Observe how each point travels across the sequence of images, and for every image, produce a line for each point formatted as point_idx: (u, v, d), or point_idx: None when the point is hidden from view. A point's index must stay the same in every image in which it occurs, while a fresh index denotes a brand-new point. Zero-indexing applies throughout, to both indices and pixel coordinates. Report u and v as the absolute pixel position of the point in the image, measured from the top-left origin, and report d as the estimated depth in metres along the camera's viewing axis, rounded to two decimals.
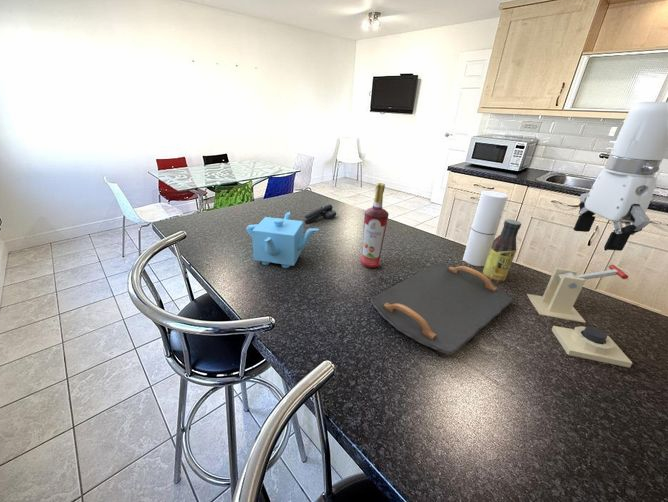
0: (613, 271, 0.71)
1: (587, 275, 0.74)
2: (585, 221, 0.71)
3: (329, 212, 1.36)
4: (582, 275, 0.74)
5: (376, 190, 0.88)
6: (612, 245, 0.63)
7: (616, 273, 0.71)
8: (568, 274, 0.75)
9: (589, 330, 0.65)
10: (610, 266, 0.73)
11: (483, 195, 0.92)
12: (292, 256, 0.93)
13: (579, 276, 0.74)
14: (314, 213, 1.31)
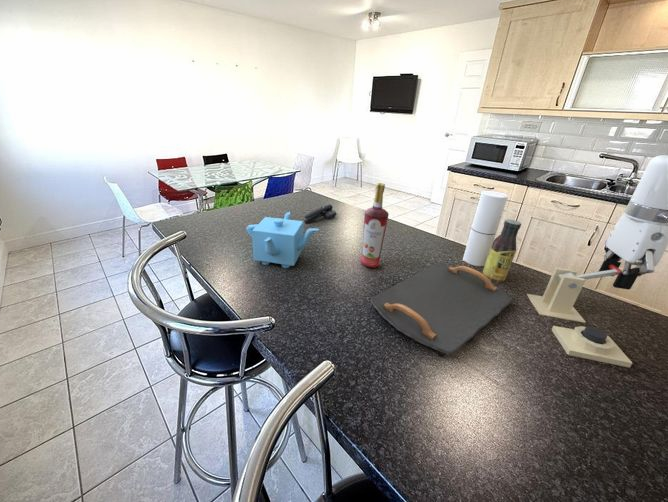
0: (613, 271, 0.71)
1: (587, 275, 0.74)
2: None
3: (329, 212, 1.36)
4: (582, 275, 0.74)
5: (376, 190, 0.88)
6: (620, 284, 0.69)
7: (616, 273, 0.71)
8: (568, 274, 0.75)
9: (589, 330, 0.65)
10: (610, 266, 0.73)
11: (483, 195, 0.92)
12: (292, 256, 0.93)
13: (579, 276, 0.74)
14: (314, 213, 1.31)
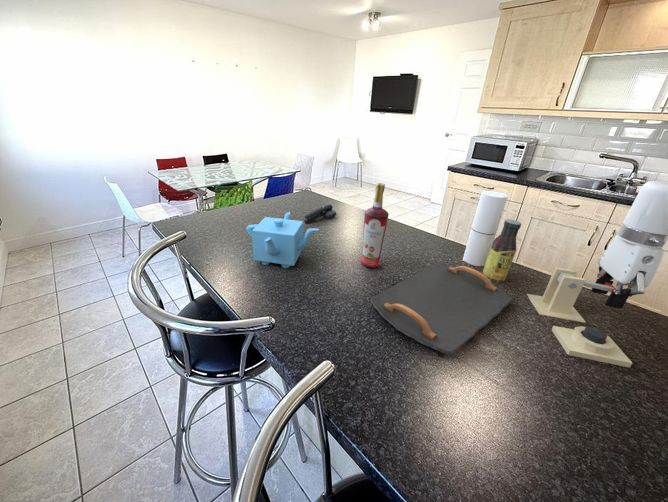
0: (610, 287, 0.73)
1: (587, 282, 0.74)
2: (603, 284, 0.76)
3: (329, 212, 1.36)
4: None
5: (376, 190, 0.88)
6: (612, 303, 0.71)
7: (612, 290, 0.73)
8: (571, 275, 0.75)
9: (589, 330, 0.65)
10: (607, 283, 0.75)
11: (483, 195, 0.92)
12: (292, 256, 0.93)
13: None
14: (314, 213, 1.31)
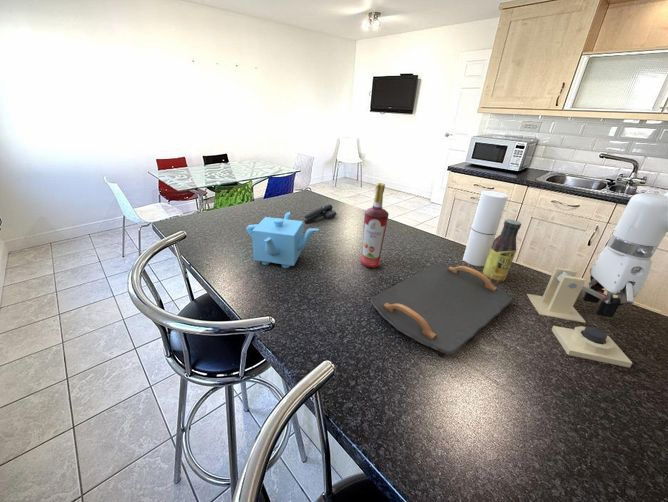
0: (603, 296, 0.74)
1: (584, 286, 0.75)
2: None
3: (329, 212, 1.36)
4: None
5: (376, 190, 0.88)
6: (603, 312, 0.73)
7: (604, 298, 0.74)
8: (572, 276, 0.75)
9: (589, 330, 0.65)
10: (599, 292, 0.76)
11: (483, 195, 0.92)
12: (292, 256, 0.93)
13: None
14: (314, 213, 1.31)
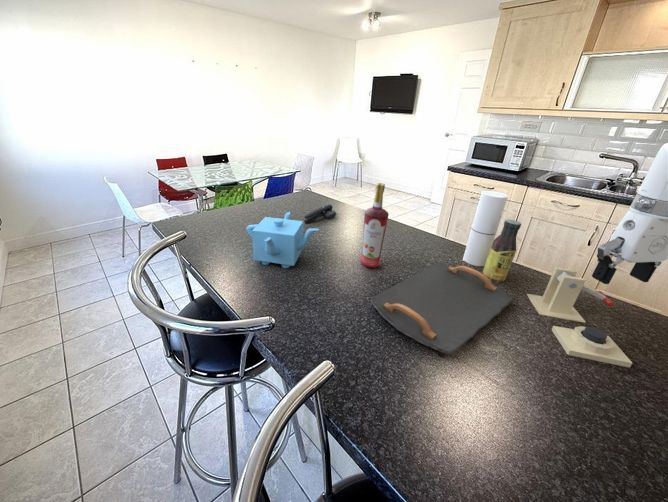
0: (603, 296, 0.74)
1: (584, 286, 0.75)
2: (641, 267, 0.64)
3: (329, 212, 1.36)
4: None
5: (376, 190, 0.88)
6: None
7: (604, 298, 0.74)
8: (572, 276, 0.75)
9: (589, 330, 0.65)
10: (599, 292, 0.76)
11: (483, 195, 0.92)
12: (292, 256, 0.93)
13: None
14: (314, 213, 1.31)
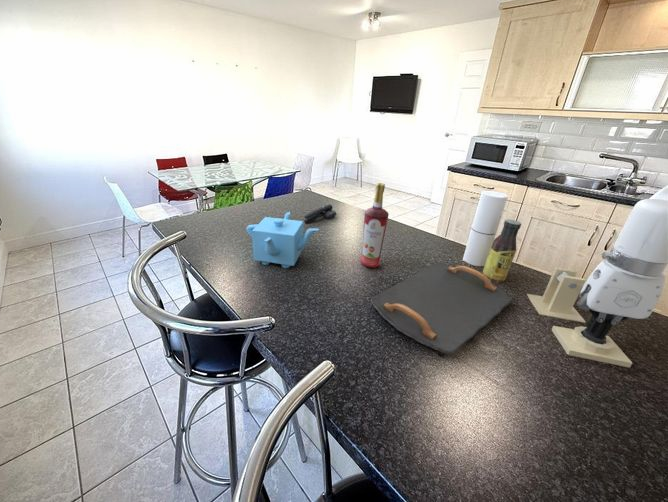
0: None
1: None
2: None
3: (329, 212, 1.36)
4: None
5: (376, 190, 0.88)
6: None
7: None
8: (572, 276, 0.75)
9: (588, 331, 0.65)
10: None
11: (483, 195, 0.92)
12: (292, 256, 0.93)
13: None
14: (314, 213, 1.31)
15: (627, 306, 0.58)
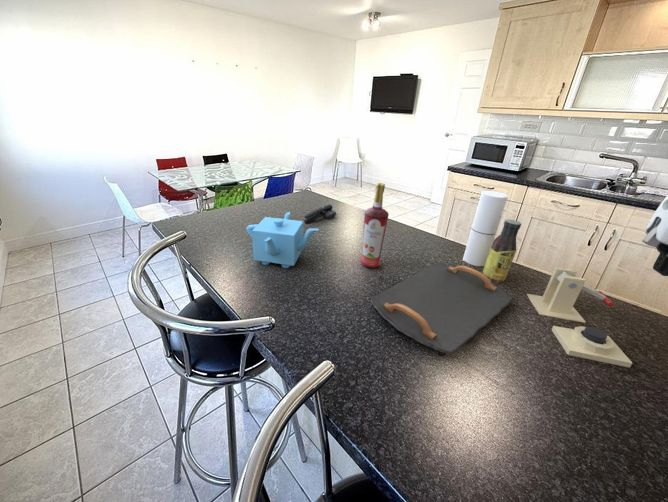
0: (603, 296, 0.74)
1: (584, 286, 0.75)
2: None
3: (329, 212, 1.36)
4: None
5: (376, 190, 0.88)
6: None
7: (604, 298, 0.74)
8: (572, 276, 0.75)
9: (589, 330, 0.65)
10: (599, 292, 0.76)
11: (483, 195, 0.92)
12: (292, 256, 0.93)
13: None
14: (314, 213, 1.31)
15: None
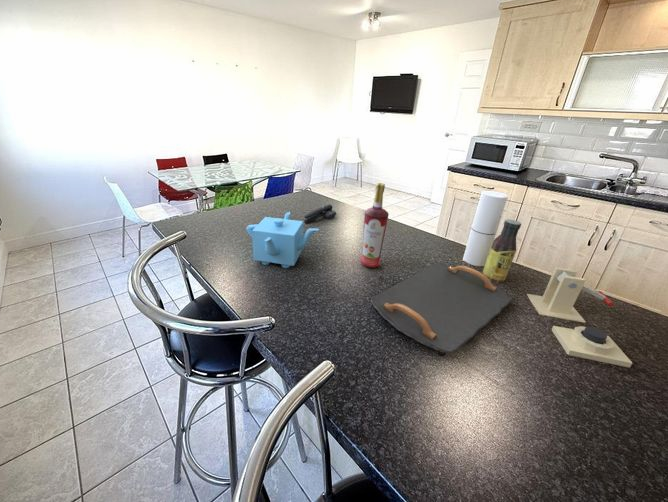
0: (603, 296, 0.74)
1: (584, 286, 0.75)
2: None
3: (329, 212, 1.36)
4: None
5: (376, 190, 0.88)
6: None
7: (604, 298, 0.74)
8: (572, 276, 0.75)
9: (589, 330, 0.65)
10: (599, 292, 0.76)
11: (483, 195, 0.92)
12: (292, 256, 0.93)
13: None
14: (314, 213, 1.31)
15: None
